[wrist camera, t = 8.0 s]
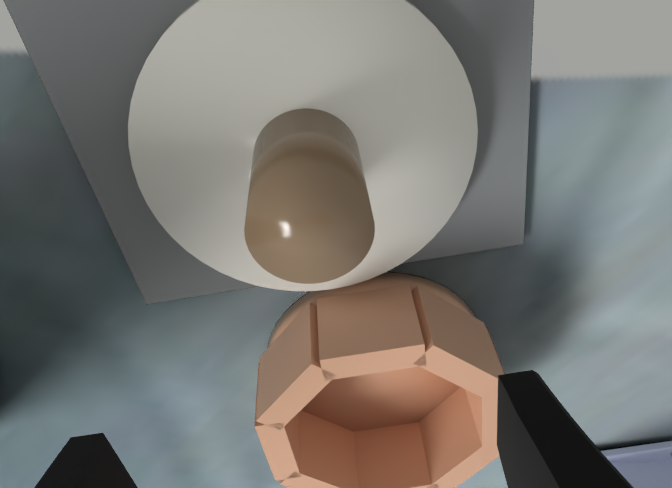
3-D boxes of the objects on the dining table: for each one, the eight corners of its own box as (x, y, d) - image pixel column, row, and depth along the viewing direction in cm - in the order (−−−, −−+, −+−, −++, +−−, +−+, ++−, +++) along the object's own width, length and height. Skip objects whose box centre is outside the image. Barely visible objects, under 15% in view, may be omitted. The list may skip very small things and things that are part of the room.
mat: (533, -108, 15) (538, -107, 14) (520, 237, 21) (523, 244, 21) (6, -11, 15) (0, -7, 15) (148, 297, 22) (146, 304, 21)
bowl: (479, 255, 22) (512, 330, 18) (481, 408, 27) (507, 487, 24) (242, 293, 22) (234, 373, 19) (290, 436, 27) (290, 518, 24)
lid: (469, -67, 15) (532, -32, 11) (472, 252, 21) (514, 348, 17) (76, 1, 15) (3, 59, 11) (191, 296, 21) (169, 400, 17)
